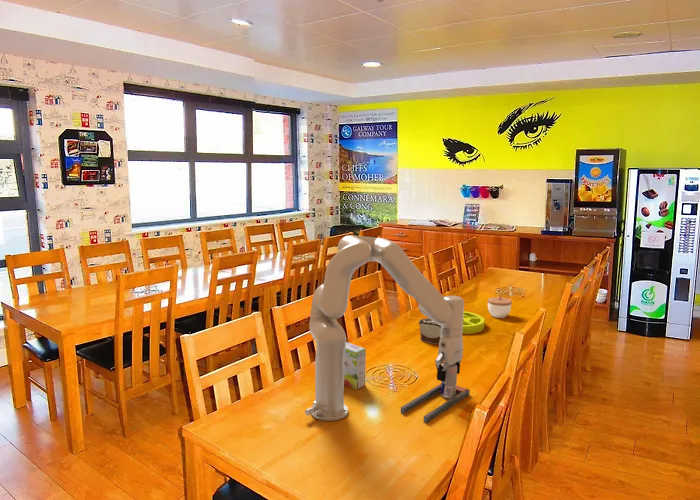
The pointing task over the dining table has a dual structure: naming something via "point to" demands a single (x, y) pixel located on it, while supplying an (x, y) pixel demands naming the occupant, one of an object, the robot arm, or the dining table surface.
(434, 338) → the food container
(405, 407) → the guide track
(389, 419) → the dining table surface
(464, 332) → the pulley
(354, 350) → the snack box
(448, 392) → the energy drink
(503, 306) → the lidded bowl
